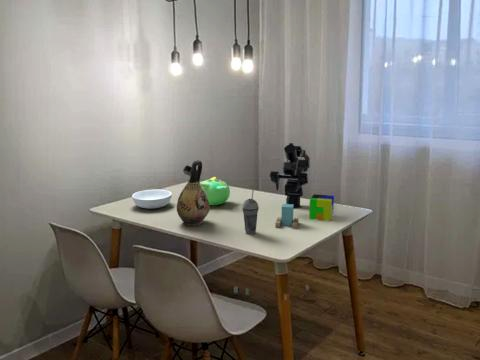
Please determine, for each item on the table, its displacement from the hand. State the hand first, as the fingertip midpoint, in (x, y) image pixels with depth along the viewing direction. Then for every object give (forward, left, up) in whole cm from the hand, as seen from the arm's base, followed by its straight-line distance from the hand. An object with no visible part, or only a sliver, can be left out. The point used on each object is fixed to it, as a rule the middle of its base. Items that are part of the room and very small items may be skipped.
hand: (286, 191), depth 234 cm
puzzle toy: (-16, +8, -13) cm, 22 cm away
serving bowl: (+57, -44, -13) cm, 74 cm away
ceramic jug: (+44, -8, -13) cm, 47 cm away
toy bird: (+26, -34, -13) cm, 45 cm away
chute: (+5, +12, -13) cm, 19 cm away
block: (+5, +11, -13) cm, 18 cm away
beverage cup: (+25, +16, -13) cm, 33 cm away
